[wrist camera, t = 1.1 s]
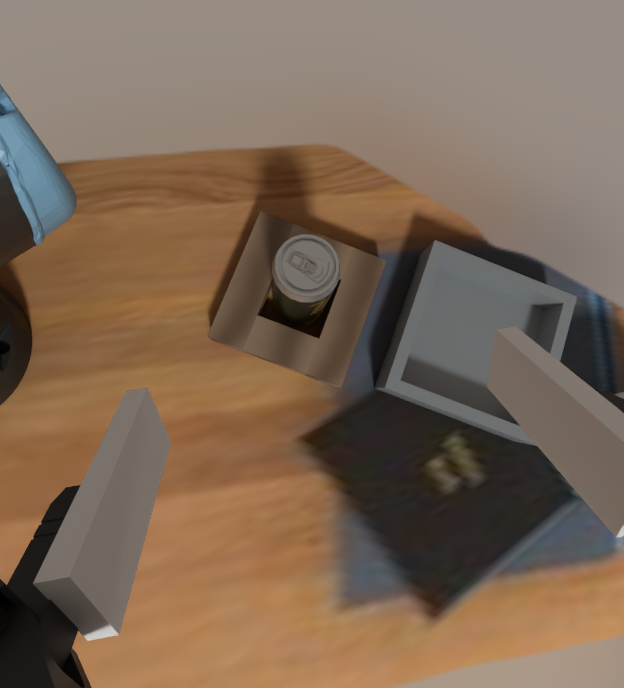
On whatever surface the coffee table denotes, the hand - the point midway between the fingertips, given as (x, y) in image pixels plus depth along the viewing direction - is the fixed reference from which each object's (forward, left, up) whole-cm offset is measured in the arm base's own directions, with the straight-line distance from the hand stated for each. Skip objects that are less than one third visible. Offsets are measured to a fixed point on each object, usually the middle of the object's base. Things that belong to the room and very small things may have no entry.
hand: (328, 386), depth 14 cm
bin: (+9, +17, -25) cm, 32 cm away
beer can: (-7, +7, -25) cm, 27 cm away
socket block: (-7, +7, -25) cm, 27 cm away
